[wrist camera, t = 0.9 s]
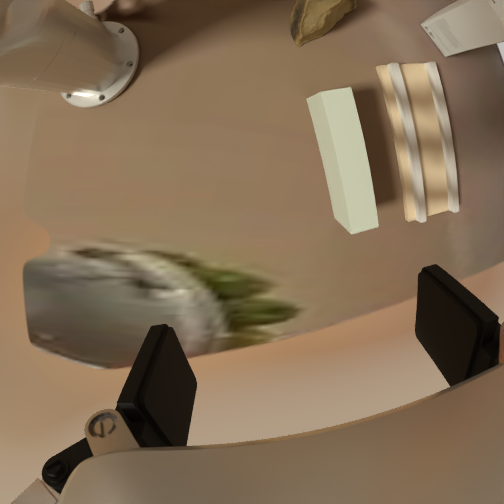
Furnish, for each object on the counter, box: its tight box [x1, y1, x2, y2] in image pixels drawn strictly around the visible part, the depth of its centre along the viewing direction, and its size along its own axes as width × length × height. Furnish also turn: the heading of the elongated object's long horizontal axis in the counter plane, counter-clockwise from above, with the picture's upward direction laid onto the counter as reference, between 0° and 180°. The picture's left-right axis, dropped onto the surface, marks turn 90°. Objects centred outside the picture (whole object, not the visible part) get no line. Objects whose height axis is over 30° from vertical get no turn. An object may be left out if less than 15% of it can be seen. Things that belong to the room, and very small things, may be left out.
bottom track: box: [376, 62, 459, 223], centre depth 34 cm, size 22×10×2 cm, turn 16°
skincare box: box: [421, 0, 504, 57], centre depth 21 cm, size 8×7×16 cm
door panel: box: [307, 87, 379, 234], centre depth 33 cm, size 16×4×7 cm, turn 16°
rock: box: [290, 0, 357, 46], centre depth 26 cm, size 11×9×10 cm
